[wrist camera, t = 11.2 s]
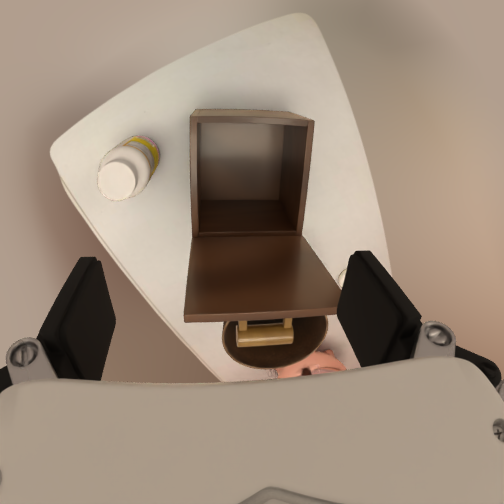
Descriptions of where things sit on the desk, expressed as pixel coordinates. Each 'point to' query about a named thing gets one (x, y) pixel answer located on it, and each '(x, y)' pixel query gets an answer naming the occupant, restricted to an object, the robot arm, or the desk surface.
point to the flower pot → (277, 356)
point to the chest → (249, 172)
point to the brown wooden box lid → (257, 285)
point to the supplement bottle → (127, 168)
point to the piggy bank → (312, 365)
